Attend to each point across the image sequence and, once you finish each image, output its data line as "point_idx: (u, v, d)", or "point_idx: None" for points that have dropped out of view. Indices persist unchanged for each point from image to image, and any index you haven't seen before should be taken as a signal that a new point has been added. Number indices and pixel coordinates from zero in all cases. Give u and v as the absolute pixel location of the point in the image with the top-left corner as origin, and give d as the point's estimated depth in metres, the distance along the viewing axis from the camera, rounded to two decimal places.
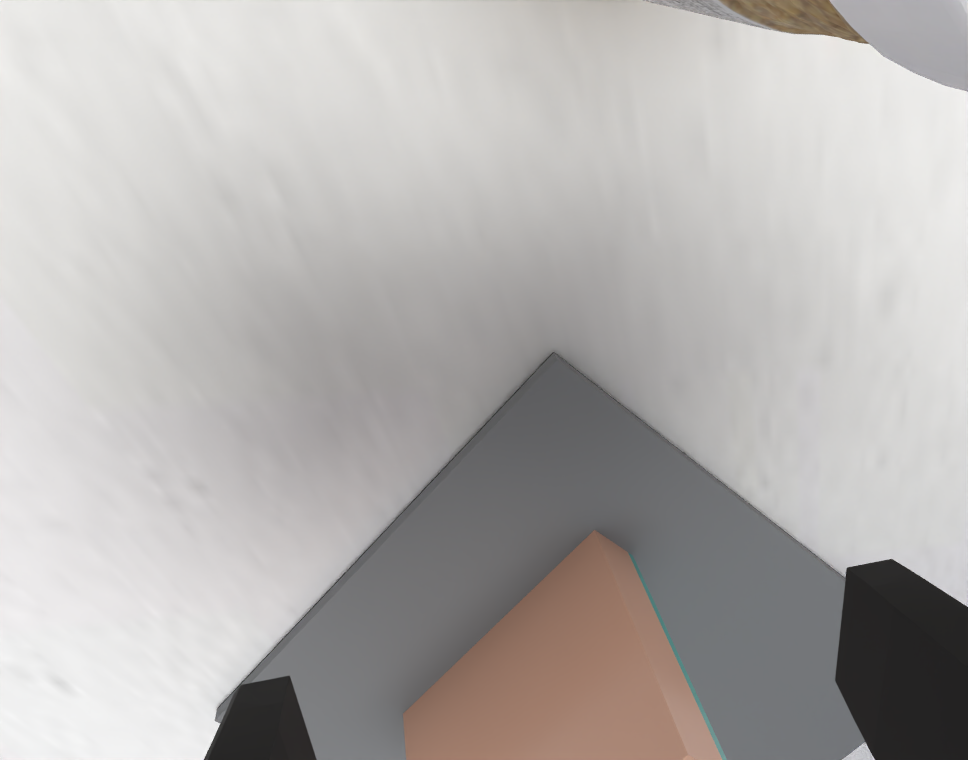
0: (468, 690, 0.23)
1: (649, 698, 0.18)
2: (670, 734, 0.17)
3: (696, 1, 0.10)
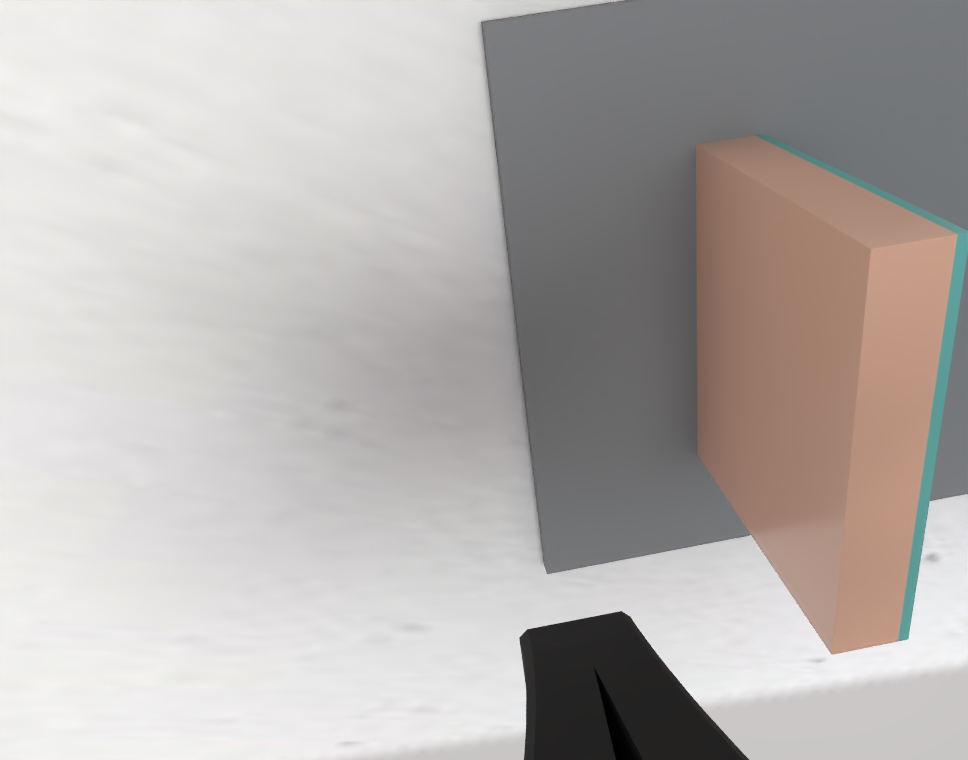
0: (715, 387, 0.20)
1: (814, 236, 0.14)
2: (848, 248, 0.13)
3: None
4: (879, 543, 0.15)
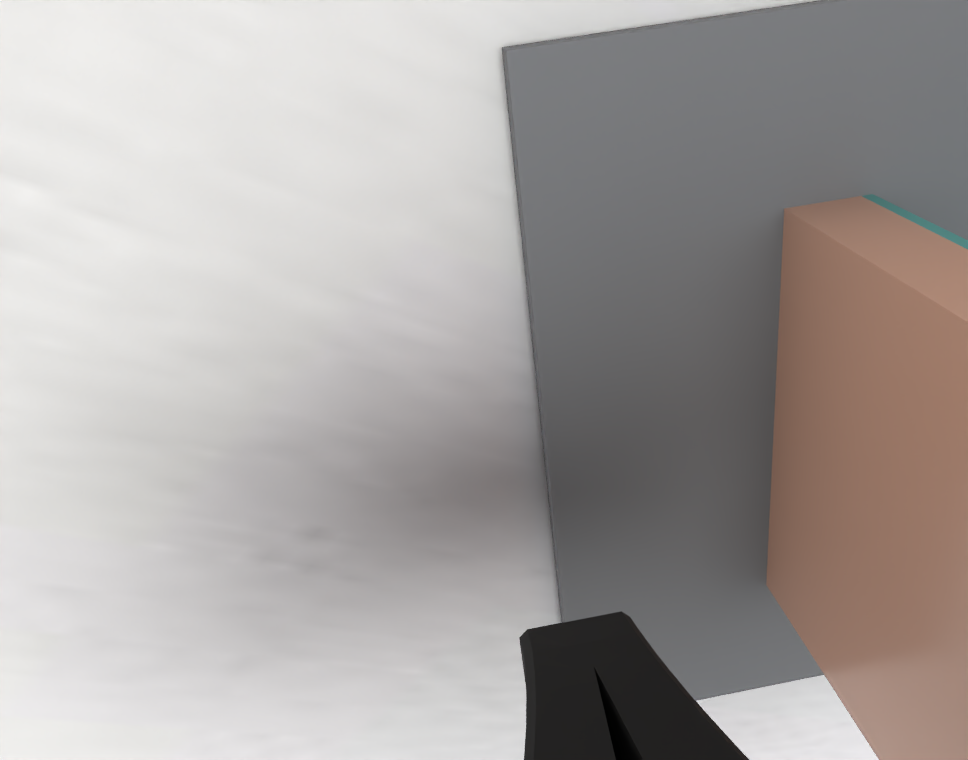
0: (800, 517, 0.15)
1: None
2: None
3: None
4: None
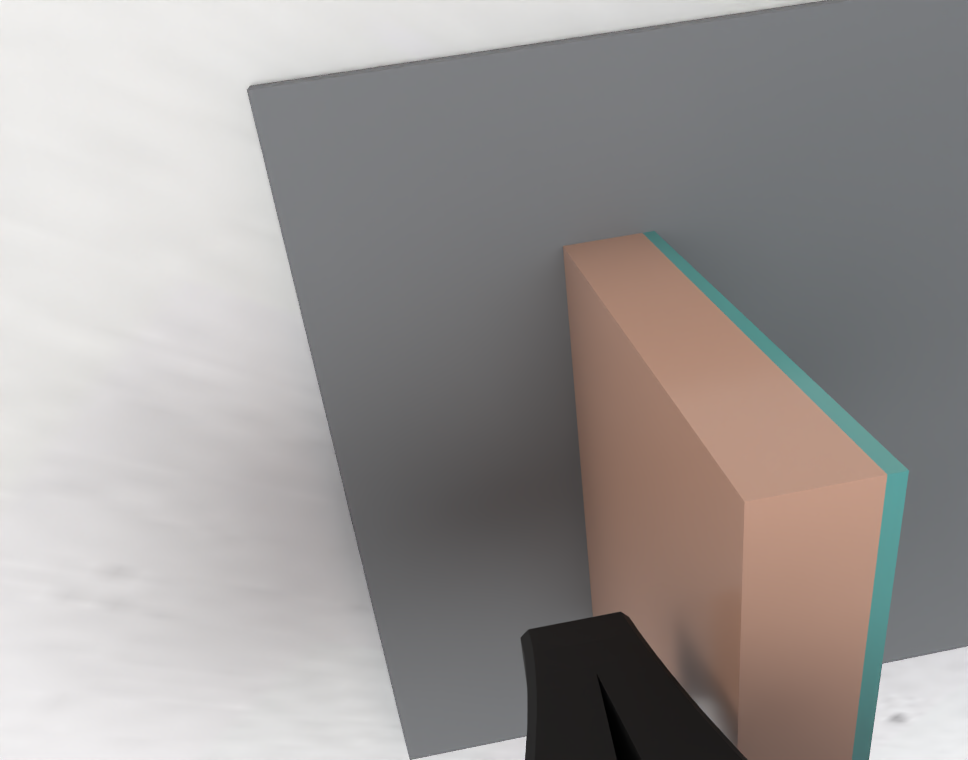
0: (601, 555, 0.15)
1: (680, 437, 0.09)
2: (718, 480, 0.08)
3: None
4: None
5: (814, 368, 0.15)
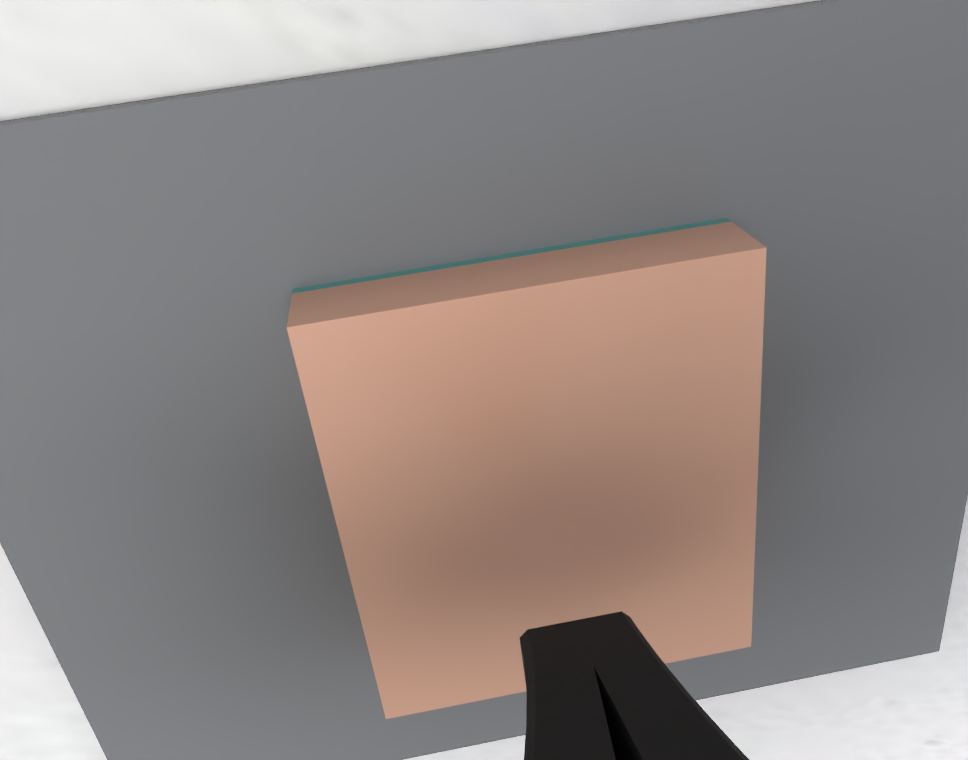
0: (429, 598, 0.15)
1: (659, 286, 0.12)
2: (725, 266, 0.12)
3: None
4: None
5: None
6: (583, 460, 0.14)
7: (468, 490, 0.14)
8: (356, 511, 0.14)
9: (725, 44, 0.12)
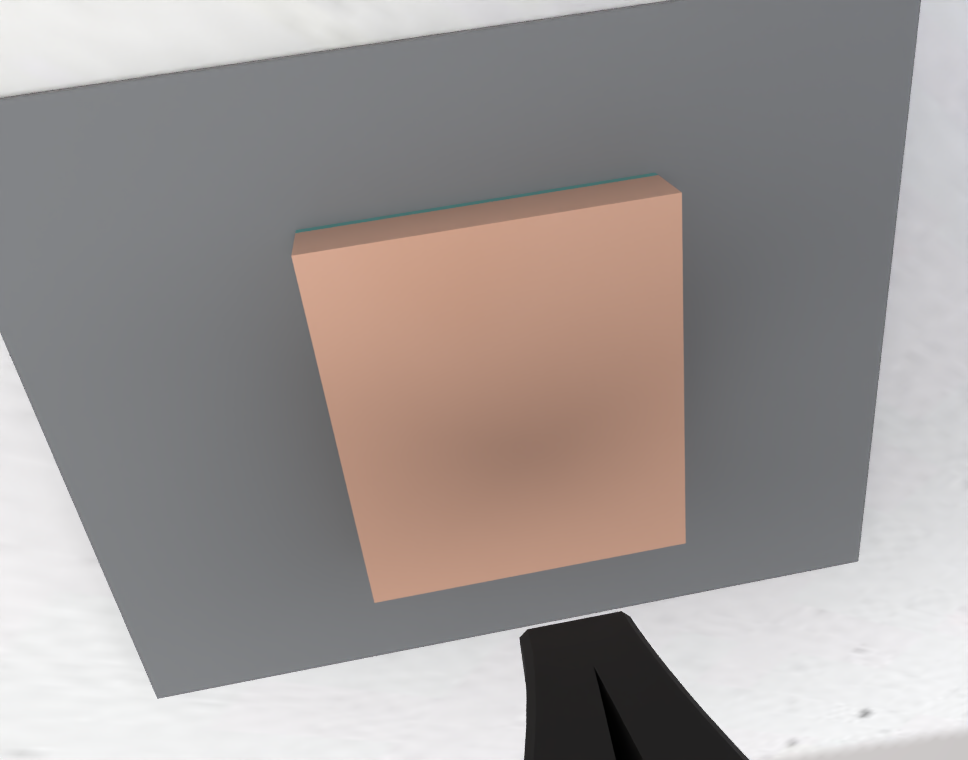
0: (410, 493, 0.17)
1: (595, 224, 0.15)
2: (648, 208, 0.15)
3: None
4: None
5: None
6: (536, 373, 0.16)
7: (441, 398, 0.16)
8: (348, 415, 0.16)
9: (648, 28, 0.15)
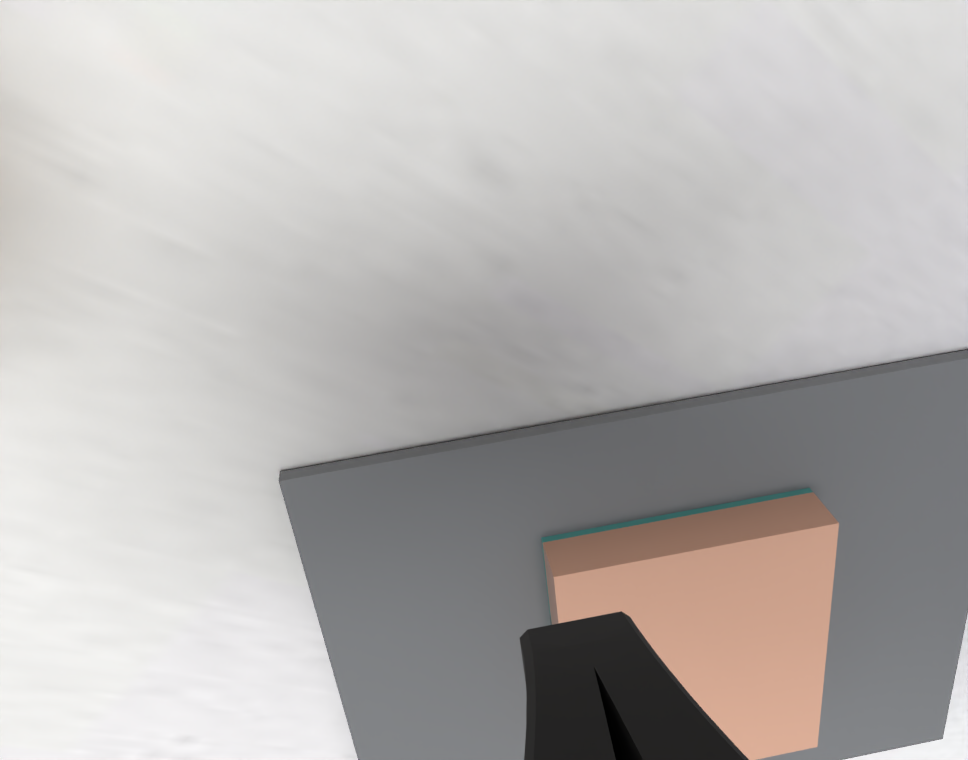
0: None
1: (774, 546, 0.20)
2: (813, 533, 0.20)
3: None
4: None
5: None
6: (719, 641, 0.22)
7: None
8: None
9: (813, 398, 0.20)
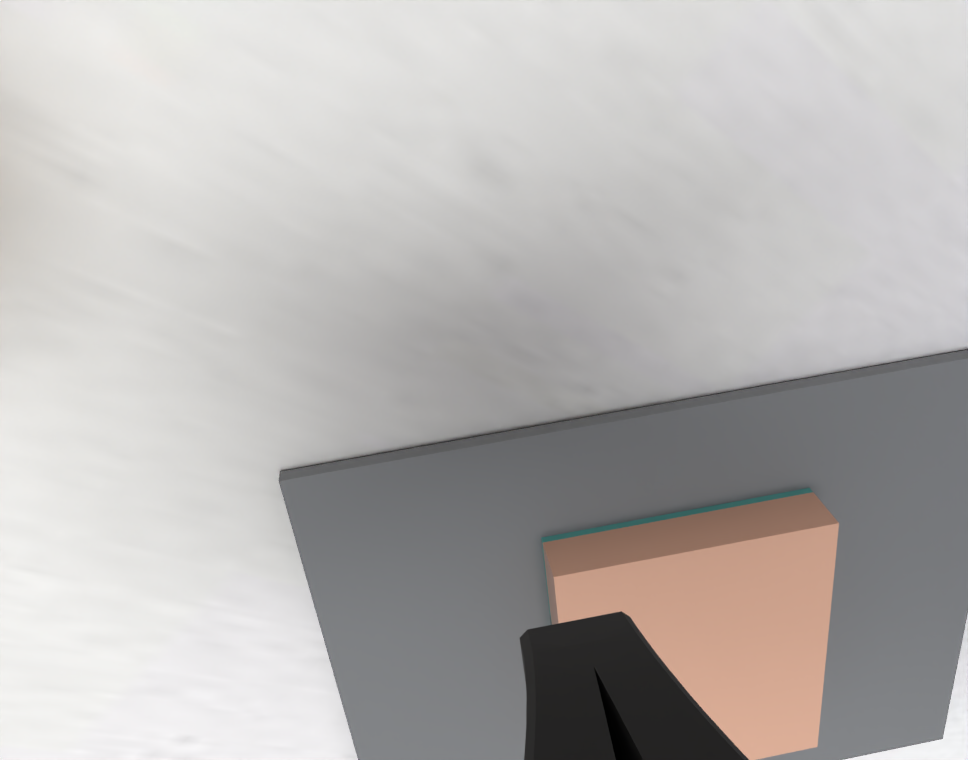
0: None
1: (774, 546, 0.20)
2: (813, 533, 0.20)
3: None
4: None
5: None
6: (719, 641, 0.22)
7: None
8: None
9: (813, 398, 0.20)
